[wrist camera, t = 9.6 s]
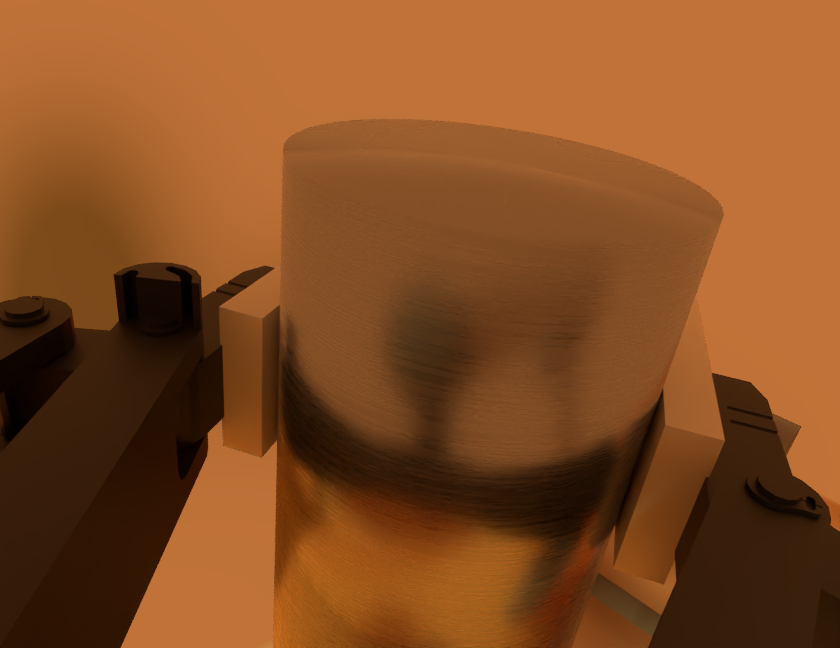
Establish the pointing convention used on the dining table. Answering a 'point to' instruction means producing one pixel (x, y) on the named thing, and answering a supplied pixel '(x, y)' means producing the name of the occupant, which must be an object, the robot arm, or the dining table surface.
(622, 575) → the beam
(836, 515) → the dining table surface
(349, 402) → the glass jar
